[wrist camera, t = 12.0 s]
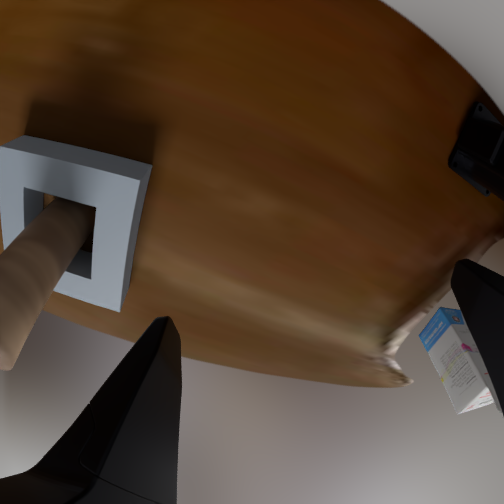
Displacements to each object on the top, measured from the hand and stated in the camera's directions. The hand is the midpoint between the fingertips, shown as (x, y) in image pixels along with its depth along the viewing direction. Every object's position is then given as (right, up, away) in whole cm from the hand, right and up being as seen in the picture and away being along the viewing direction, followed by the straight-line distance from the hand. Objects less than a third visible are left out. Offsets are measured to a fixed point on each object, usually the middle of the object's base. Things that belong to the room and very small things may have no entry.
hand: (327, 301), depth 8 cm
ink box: (+22, -7, +22) cm, 32 cm away
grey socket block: (-16, +4, +12) cm, 20 cm away
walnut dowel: (-16, +4, +12) cm, 20 cm away
